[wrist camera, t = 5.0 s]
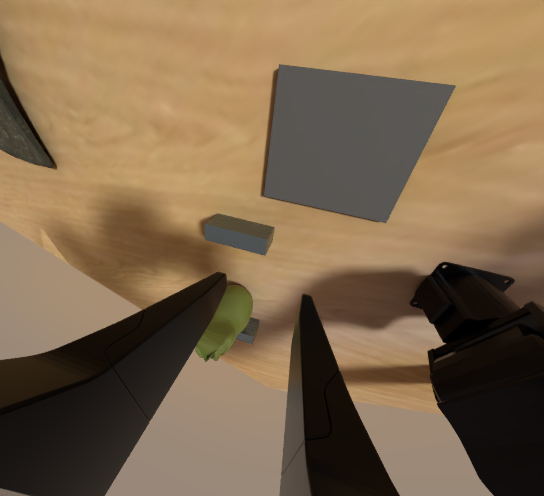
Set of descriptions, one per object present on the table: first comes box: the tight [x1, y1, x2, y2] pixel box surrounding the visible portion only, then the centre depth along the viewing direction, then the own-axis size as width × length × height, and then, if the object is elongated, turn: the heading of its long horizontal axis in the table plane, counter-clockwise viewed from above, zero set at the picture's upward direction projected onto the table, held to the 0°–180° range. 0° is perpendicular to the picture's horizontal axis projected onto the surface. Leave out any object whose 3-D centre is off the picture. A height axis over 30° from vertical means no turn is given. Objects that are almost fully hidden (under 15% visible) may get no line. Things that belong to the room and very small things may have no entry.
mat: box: [264, 64, 455, 223], centre depth 16 cm, size 12×10×1 cm
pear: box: [195, 285, 253, 362], centre depth 25 cm, size 6×5×10 cm
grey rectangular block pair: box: [204, 214, 274, 344], centre depth 26 cm, size 7×19×3 cm, turn 172°
